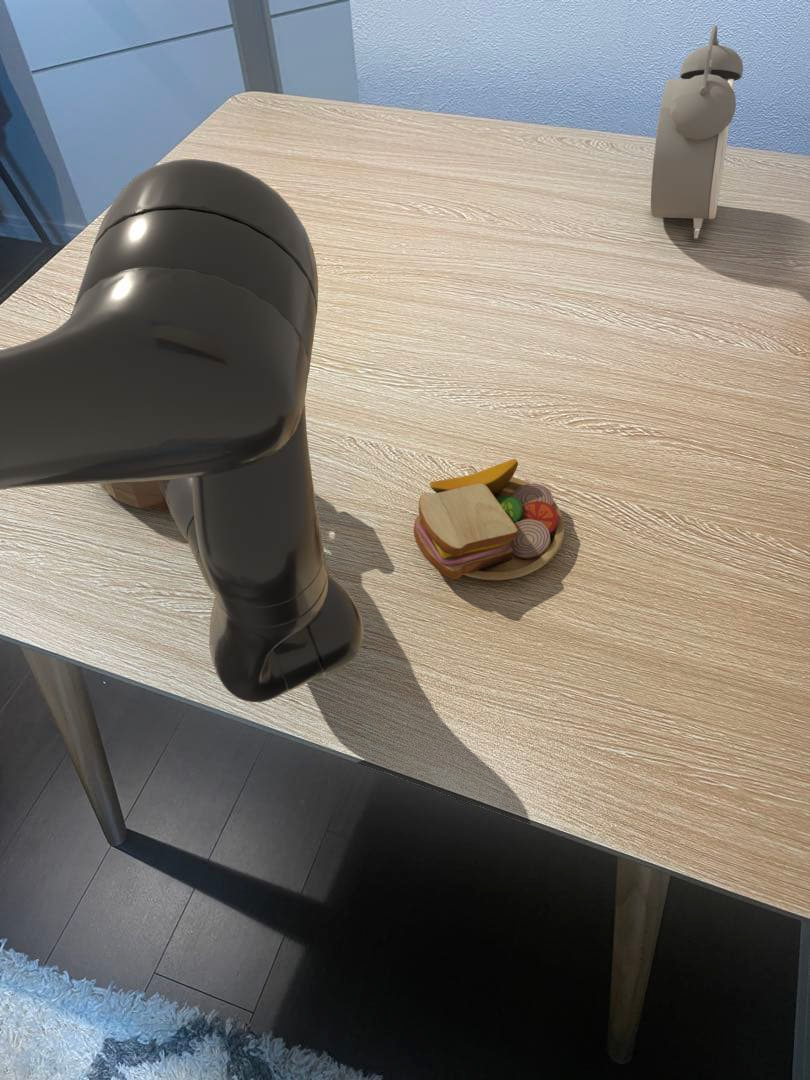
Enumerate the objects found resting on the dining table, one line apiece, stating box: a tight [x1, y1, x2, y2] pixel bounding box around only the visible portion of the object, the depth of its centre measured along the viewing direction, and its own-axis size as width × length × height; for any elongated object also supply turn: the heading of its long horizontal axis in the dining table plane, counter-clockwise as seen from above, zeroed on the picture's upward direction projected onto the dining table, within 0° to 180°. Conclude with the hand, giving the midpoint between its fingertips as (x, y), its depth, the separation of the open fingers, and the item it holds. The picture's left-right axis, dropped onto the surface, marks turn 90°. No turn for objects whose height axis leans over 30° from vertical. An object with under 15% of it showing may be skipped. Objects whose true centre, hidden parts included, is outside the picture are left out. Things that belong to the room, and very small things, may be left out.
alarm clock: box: [650, 25, 744, 239], centre depth 108 cm, size 16×9×22 cm, turn 162°
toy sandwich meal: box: [413, 458, 565, 581], centre depth 80 cm, size 12×14×5 cm
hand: (157, 379), depth 84 cm, fingers open, 8 cm apart
